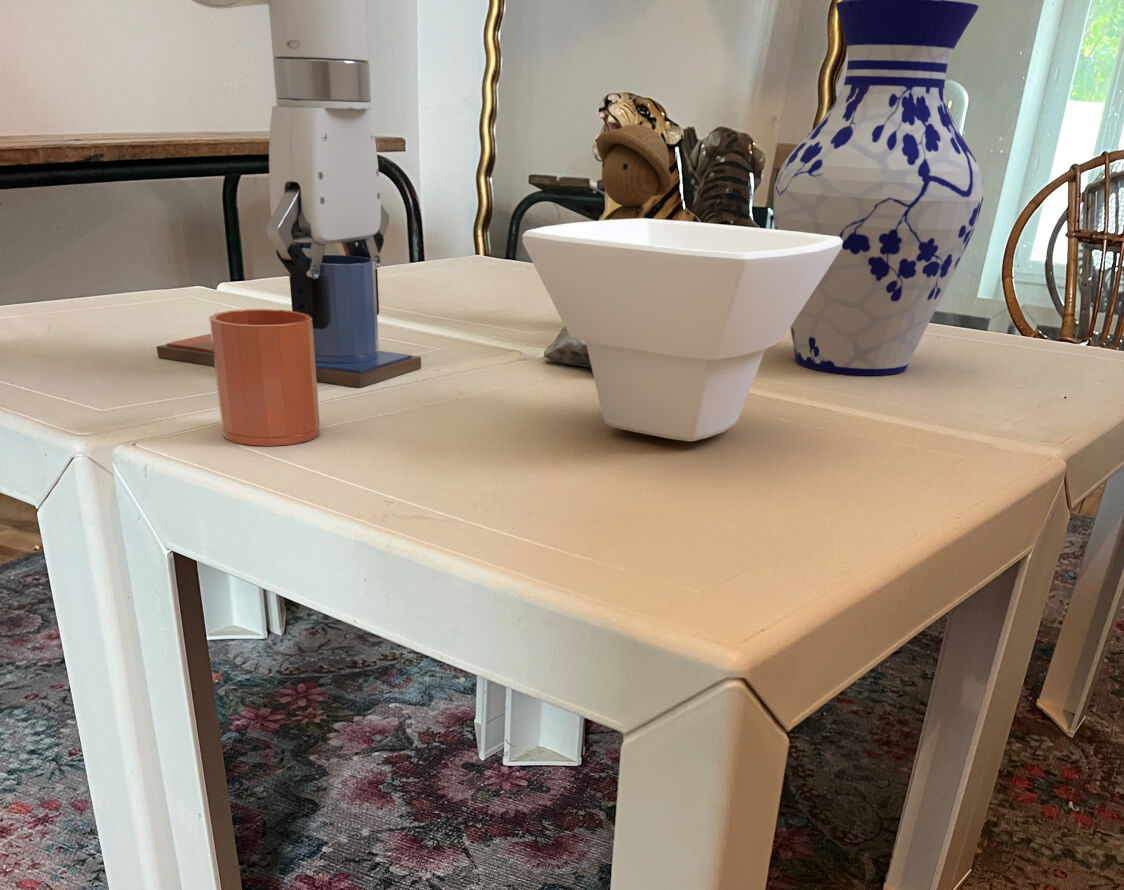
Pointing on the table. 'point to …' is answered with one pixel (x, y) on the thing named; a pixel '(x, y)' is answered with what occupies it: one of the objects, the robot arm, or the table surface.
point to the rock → (568, 350)
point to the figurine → (633, 168)
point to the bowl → (677, 311)
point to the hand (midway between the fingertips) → (337, 319)
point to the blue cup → (348, 311)
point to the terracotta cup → (265, 376)
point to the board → (325, 372)
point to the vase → (883, 189)
